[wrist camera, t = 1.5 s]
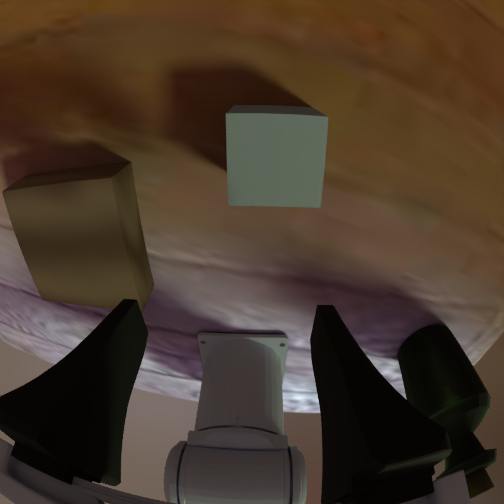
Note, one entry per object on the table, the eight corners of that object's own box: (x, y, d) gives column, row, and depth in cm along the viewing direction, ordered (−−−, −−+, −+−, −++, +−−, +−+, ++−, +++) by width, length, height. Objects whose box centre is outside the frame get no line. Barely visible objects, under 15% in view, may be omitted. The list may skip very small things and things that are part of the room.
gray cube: (307, 177, 18) (320, 207, 14) (235, 176, 18) (228, 205, 15) (312, 107, 16) (328, 116, 12) (234, 104, 16) (225, 113, 12)
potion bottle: (377, 368, 29) (410, 522, 14) (410, 316, 25) (472, 498, 9) (433, 365, 29) (474, 496, 14) (468, 316, 25) (533, 462, 10)
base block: (154, 285, 23) (143, 310, 21) (58, 278, 23) (42, 300, 21) (131, 162, 18) (111, 177, 15) (25, 176, 18) (2, 191, 15)
